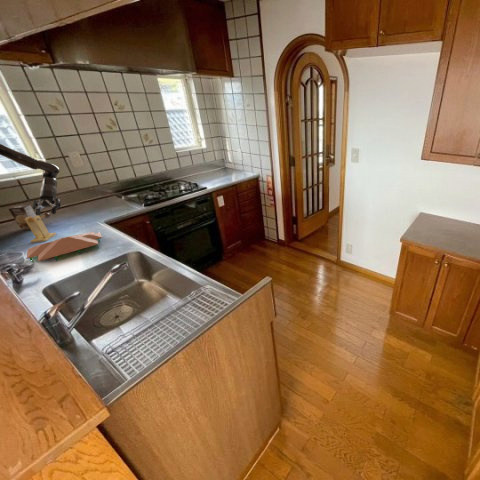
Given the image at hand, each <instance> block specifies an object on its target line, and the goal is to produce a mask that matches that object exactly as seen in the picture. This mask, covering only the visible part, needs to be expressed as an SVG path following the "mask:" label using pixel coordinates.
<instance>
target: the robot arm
mask: <svg viewBox="0 0 480 480" xmlns="http://www.w3.org/2000/svg"><path fill="white" fill-rule="evenodd" d="M0 156H2V157H4V158H6V159H9V160H11V161H13V162H15V163H17V164H18V165H22V166H24V167H26V168H28V169H31V170H35V171H36V170H40V171H42V181H41V186H40V190H39V191H40V192H39V200H33V203H32V206H31V207H32V209H33V210H35V214H36V216H38V215H39V216H41V213H42V210H43V209H44V208H47V207H51V211H50V214H52V215H56V213H57V209H60V208H61V206H62V205H61V203H62V201H61V199H59V198H57V191H58V189H57V187H58V180H57V177H58V174H59V173H60V168H59V166H57V165H55V164H53V163H51V162H47V161H43V160H39V159H37V158H35V157H33V156H31V155H30V156H29V155H28V154H25V153H23V152H21V151H18V150H14V149H13V148H10V147H8V146H6V145H3V144H2V143H0Z"/></svg>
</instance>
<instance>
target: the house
mask: <svg viewBox="0 0 480 480" xmlns="http://www.w3.org/2000/svg"><path fill="white" fill-rule="evenodd" d="M102 238H103V236H102V234H101V232H94V231H91V232H85V233H81V234H80V233H79V234H74V235H69V236H65V237H62V238H58V239H54V240H53V241H49V242H44V243H41V244H38V245H35V246H31V247H29V248H27V252H26V260H27V259H29V260H30V261H31V260H32V257H33V258H34V260H36V259H37V262H41V261H45V260H48V259H51V258H54V259H55V261H56V262H58V261H60V256H62V257H61V258H62V259H61V261H62V260H66V259H67V257H69V256H68V255H70V253H71V257H74V256H75V254H77V255H82V254H83V255H84V249H85V251H88V252H91V248H90V247H92V249H95V251H96V250H98V249H100V247H99V243H100V242H101V239H102ZM95 246H96V247H97V248H95ZM89 250H90V251H89Z"/></svg>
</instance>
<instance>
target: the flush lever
mask: <svg viewBox="0 0 480 480" xmlns="http://www.w3.org/2000/svg"><path fill="white" fill-rule="evenodd" d="M40 218H41V219H43V218H44V219H50V218H51V213H49V212H43V214H42V215H40ZM29 221H30V222H34V221H33V219H32V218H29Z"/></svg>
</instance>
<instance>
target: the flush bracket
mask: <svg viewBox="0 0 480 480" xmlns="http://www.w3.org/2000/svg"><path fill="white" fill-rule="evenodd" d="M40 216H41V215H40ZM40 216H39V215H36V216H35V217H33V218H32V216H29V217H27V218H25V221H26V222H27V224H28V226H29V227H30V229H29V230H31V233H32V234H33V235H34V237H35V238H33V239H31V240H30V243H43V242H47V241H49V240H50V239H52V238H53V237H54V236H56V235H57V232H49V230H48V228H47V226H46V225H45V223H44V222H43V220H42V218H40ZM29 218H32V219H33V221H34V222H30V221H29Z"/></svg>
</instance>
